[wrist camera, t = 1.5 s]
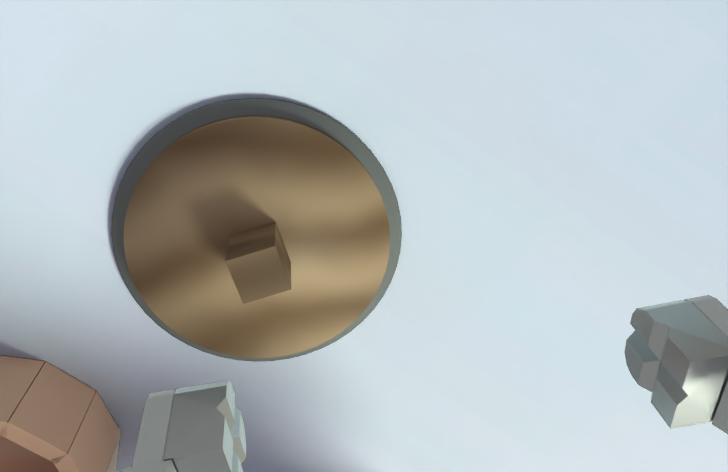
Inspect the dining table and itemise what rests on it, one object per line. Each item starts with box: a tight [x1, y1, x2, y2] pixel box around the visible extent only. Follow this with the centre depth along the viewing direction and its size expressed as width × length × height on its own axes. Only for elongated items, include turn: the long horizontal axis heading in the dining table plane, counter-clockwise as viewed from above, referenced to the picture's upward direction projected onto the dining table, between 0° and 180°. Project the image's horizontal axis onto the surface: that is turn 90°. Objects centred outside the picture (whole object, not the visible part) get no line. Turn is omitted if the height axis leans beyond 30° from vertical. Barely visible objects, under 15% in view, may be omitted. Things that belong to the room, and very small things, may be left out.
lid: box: [124, 115, 390, 358], centre depth 39 cm, size 18×18×5 cm
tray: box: [112, 98, 402, 361], centre depth 41 cm, size 20×20×1 cm
